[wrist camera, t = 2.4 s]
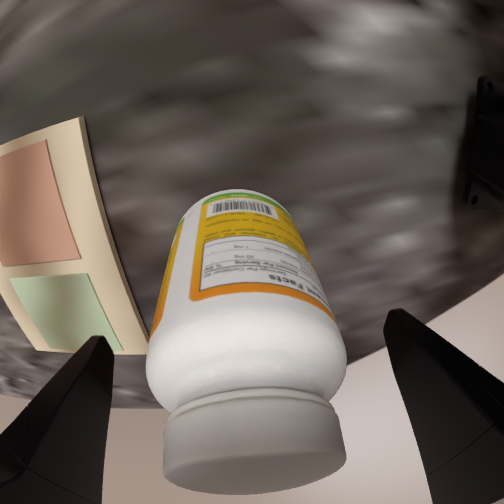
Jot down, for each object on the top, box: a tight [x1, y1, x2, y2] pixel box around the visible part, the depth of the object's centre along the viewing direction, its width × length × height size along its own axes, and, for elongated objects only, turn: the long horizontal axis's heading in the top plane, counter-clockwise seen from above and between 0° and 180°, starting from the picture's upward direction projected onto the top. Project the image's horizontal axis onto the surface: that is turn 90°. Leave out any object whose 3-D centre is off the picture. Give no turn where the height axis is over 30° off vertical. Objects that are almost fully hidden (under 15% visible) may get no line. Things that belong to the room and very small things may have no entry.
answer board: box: [0, 116, 150, 354], centre depth 13 cm, size 9×13×1 cm
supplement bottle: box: [146, 189, 347, 495], centre depth 9 cm, size 5×5×10 cm
